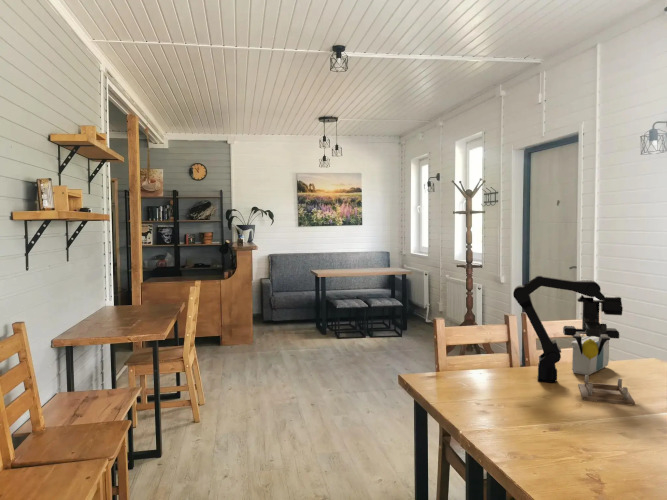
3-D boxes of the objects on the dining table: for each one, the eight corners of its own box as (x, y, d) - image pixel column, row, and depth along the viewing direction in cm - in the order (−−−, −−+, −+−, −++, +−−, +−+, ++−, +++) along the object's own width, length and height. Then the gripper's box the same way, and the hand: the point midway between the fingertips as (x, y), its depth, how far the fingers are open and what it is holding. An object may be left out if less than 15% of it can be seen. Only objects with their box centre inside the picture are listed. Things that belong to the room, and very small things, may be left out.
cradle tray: (582, 399, 178) (583, 385, 178) (578, 386, 193) (578, 373, 193) (635, 405, 173) (635, 390, 172) (626, 391, 188) (626, 377, 187)
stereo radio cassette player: (589, 377, 204) (590, 328, 203) (569, 373, 210) (570, 325, 209) (609, 367, 218) (610, 321, 217) (589, 364, 224) (590, 319, 223)
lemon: (594, 357, 197) (594, 337, 197) (600, 361, 192) (601, 340, 191) (579, 357, 198) (579, 337, 197) (585, 361, 192) (585, 340, 192)
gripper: (566, 316, 189) (565, 357, 190) (623, 318, 183) (622, 361, 184) (563, 311, 200) (562, 350, 201) (616, 313, 194) (615, 354, 195)
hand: (589, 354), depth 195 cm, fingers closed on lemon, 5 cm apart
